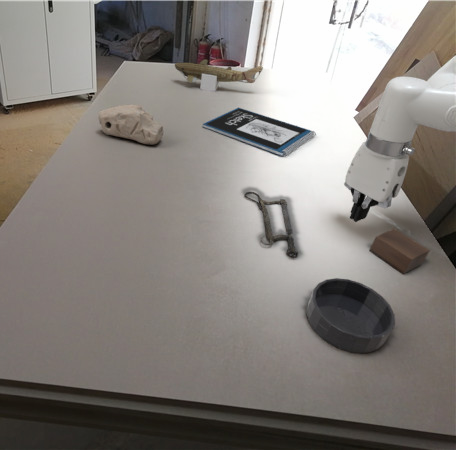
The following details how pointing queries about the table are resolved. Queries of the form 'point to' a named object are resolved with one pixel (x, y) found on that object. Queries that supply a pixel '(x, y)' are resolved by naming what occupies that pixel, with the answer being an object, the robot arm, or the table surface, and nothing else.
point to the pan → (350, 315)
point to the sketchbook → (260, 131)
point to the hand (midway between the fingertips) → (356, 218)
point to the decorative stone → (131, 124)
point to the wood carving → (215, 74)
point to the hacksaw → (292, 248)
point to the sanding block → (399, 251)
